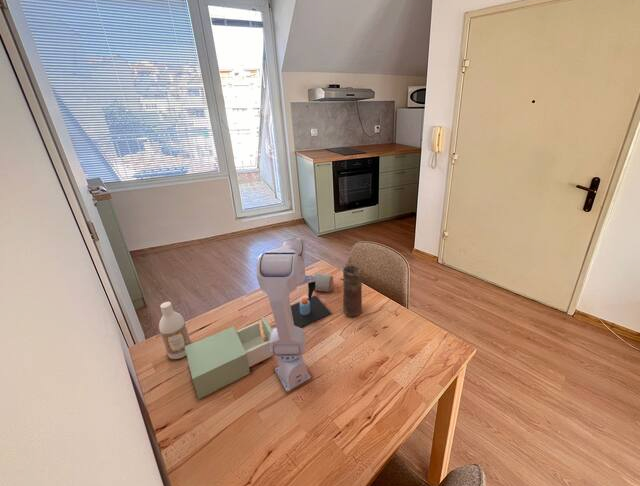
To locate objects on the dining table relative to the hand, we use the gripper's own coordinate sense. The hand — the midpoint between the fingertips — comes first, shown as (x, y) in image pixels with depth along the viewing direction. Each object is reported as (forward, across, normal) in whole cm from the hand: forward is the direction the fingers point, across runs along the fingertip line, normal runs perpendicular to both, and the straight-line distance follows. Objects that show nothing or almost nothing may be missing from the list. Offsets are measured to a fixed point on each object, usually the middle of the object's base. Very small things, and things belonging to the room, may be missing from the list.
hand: (299, 300), depth 108 cm
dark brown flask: (+11, -21, -2) cm, 23 cm away
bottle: (+10, -2, -5) cm, 11 cm away
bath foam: (+11, +40, +6) cm, 42 cm away
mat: (+10, -2, -5) cm, 12 cm away
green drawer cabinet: (+10, +26, +16) cm, 32 cm away
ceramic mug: (+11, -11, -20) cm, 25 cm away
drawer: (+9, +14, +11) cm, 20 cm away
